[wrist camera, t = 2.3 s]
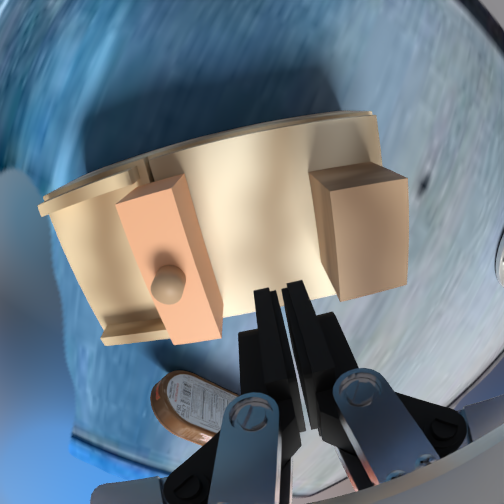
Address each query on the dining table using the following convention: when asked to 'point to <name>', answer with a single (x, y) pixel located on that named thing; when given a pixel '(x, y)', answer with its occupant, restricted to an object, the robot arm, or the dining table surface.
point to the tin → (190, 405)
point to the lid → (297, 210)
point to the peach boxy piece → (173, 259)
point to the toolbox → (123, 236)
